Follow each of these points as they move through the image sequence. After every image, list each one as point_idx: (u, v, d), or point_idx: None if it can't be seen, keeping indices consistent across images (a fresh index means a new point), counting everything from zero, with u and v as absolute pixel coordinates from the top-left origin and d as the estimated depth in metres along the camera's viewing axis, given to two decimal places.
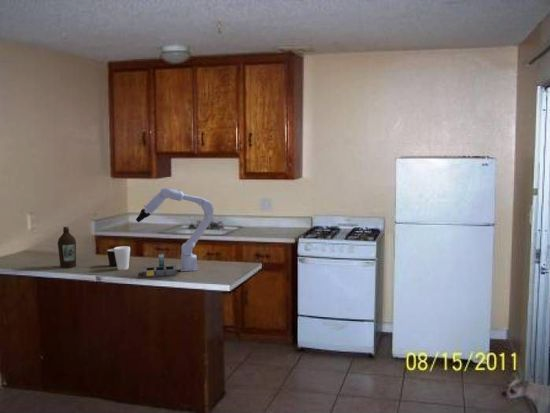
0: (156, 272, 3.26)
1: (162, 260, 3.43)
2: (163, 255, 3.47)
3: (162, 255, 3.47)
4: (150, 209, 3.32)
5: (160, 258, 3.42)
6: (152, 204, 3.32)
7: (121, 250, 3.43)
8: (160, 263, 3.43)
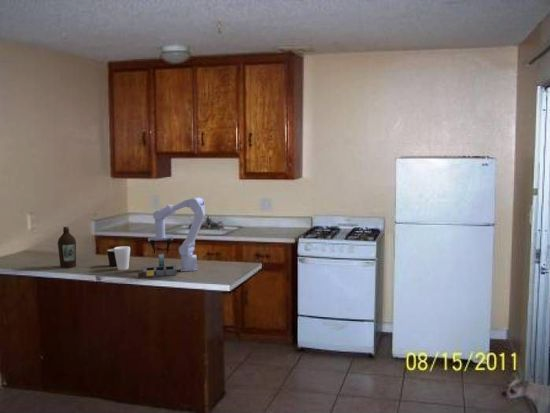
0: (156, 272, 3.26)
1: (162, 260, 3.43)
2: (163, 255, 3.47)
3: (162, 255, 3.47)
4: None
5: (160, 258, 3.42)
6: None
7: (121, 250, 3.43)
8: (160, 263, 3.43)
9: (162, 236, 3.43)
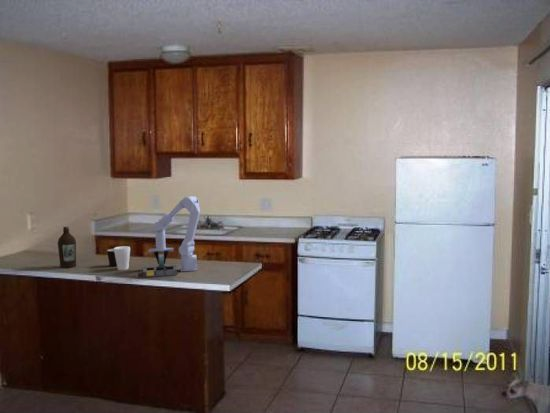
0: (156, 272, 3.26)
1: (162, 260, 3.43)
2: (163, 255, 3.47)
3: (162, 255, 3.47)
4: (156, 247, 3.44)
5: (160, 258, 3.42)
6: None
7: (121, 250, 3.43)
8: (160, 263, 3.43)
9: (162, 248, 3.43)
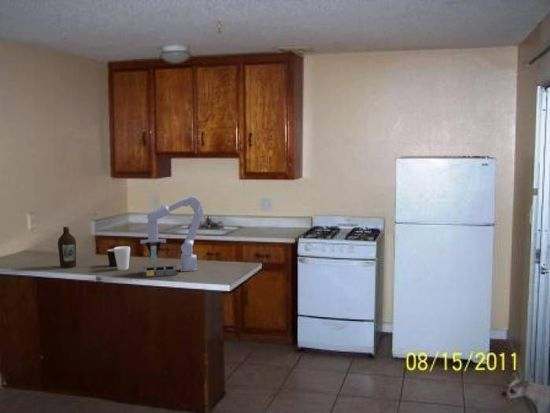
0: (156, 272, 3.26)
1: (154, 252, 3.33)
2: (155, 247, 3.37)
3: (154, 247, 3.37)
4: (148, 238, 3.34)
5: (152, 250, 3.32)
6: None
7: (121, 250, 3.43)
8: (152, 255, 3.33)
9: (155, 239, 3.33)
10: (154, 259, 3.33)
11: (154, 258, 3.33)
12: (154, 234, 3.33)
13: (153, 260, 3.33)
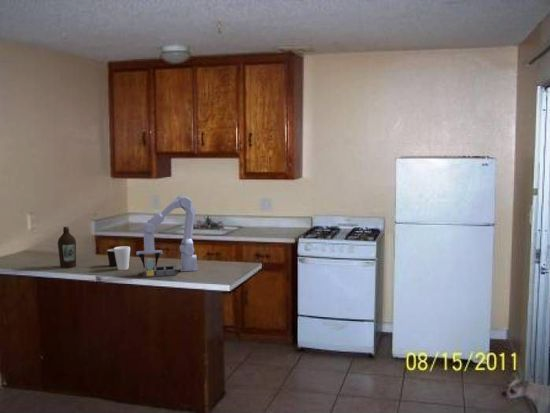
0: (156, 272, 3.26)
1: (151, 264, 3.28)
2: (152, 259, 3.32)
3: (151, 259, 3.32)
4: (144, 250, 3.29)
5: (148, 262, 3.27)
6: None
7: (121, 250, 3.43)
8: (148, 268, 3.28)
9: (151, 250, 3.28)
10: None
11: None
12: (150, 245, 3.28)
13: None
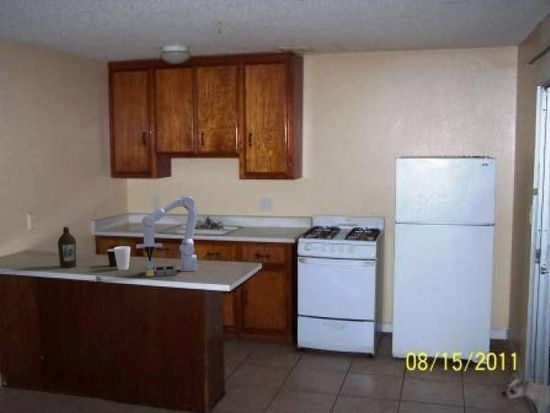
0: (156, 272, 3.26)
1: (151, 264, 3.28)
2: (152, 259, 3.32)
3: (151, 259, 3.32)
4: (144, 243, 3.29)
5: (148, 262, 3.27)
6: None
7: (121, 250, 3.43)
8: (148, 268, 3.28)
9: (151, 243, 3.28)
10: None
11: None
12: (150, 238, 3.27)
13: None
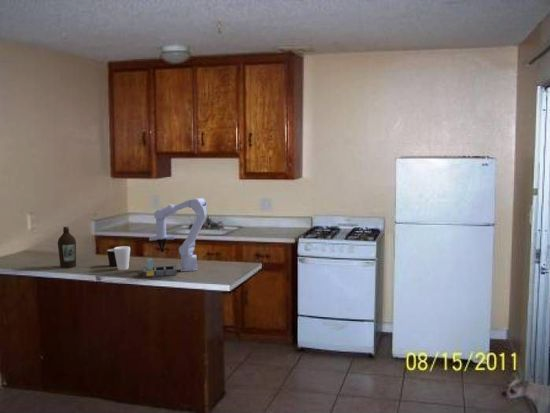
0: (156, 272, 3.26)
1: (151, 264, 3.28)
2: (152, 259, 3.32)
3: (151, 259, 3.32)
4: None
5: (148, 262, 3.27)
6: None
7: (121, 250, 3.43)
8: (148, 268, 3.28)
9: (163, 235, 3.42)
10: None
11: None
12: (162, 231, 3.42)
13: None
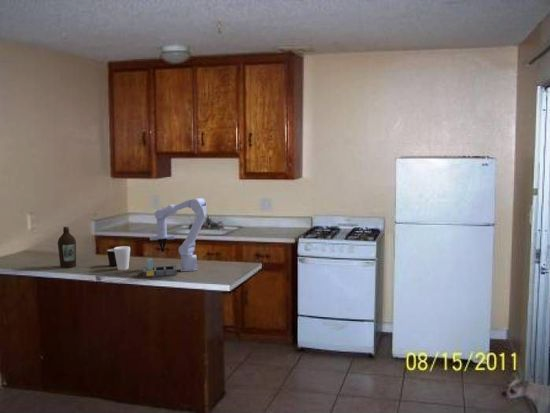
0: (156, 272, 3.26)
1: (151, 264, 3.28)
2: (152, 259, 3.32)
3: (151, 259, 3.32)
4: (157, 235, 3.44)
5: (148, 262, 3.27)
6: None
7: (121, 250, 3.43)
8: (148, 268, 3.28)
9: (164, 235, 3.43)
10: None
11: None
12: (163, 231, 3.42)
13: None
